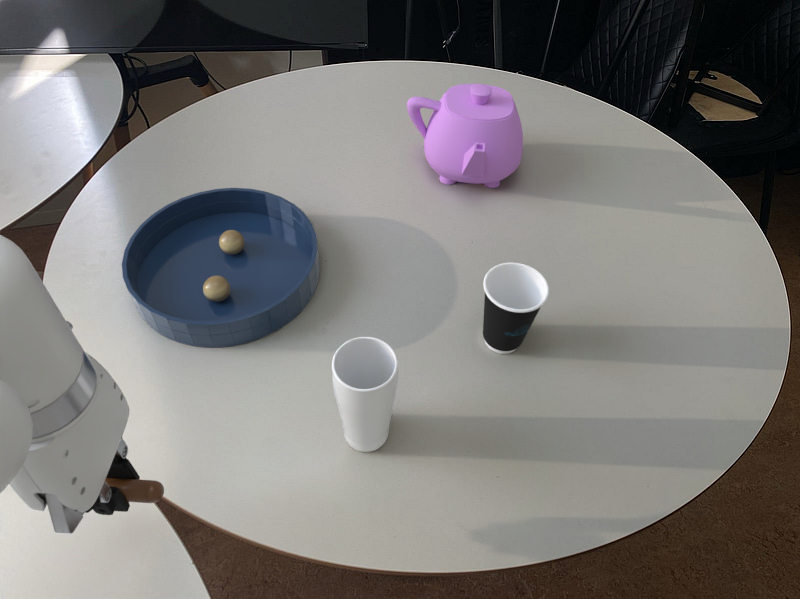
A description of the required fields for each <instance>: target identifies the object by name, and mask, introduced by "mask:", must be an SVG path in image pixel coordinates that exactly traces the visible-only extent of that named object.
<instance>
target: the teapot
mask: <svg viewBox="0 0 800 599" xmlns="http://www.w3.org/2000/svg"><path fill="white" fill-rule="evenodd" d="M421 109H429V110H433V111H432V113H431V115H430V117H429V120H428V123H427V126H426V124H425V121H424V120H423V117H422V113H421ZM406 110H407V113H408V116H409V118H410V120H411V122H412V123H413V125H414V126H415V128H416V129H417V131H418V132H419V134H420V135H421V137H422V138H423V151H424V155H425V159H426V161H427V163H428V165H429V166H430V167H431V169H432V170H433V171H434V172H435V173H436V174H438V175H439V177H438V180H439V181H440V183H442V184H444V185H454V184H456V183H457V182H459V183H465V184H474V185H475V184H482V185H483V186H485V187H486V188H491V189H494V188H495V189H496V188H498V187H499V186H500V185H501V181H502V180H504V179H506V178H508V177H509V176H510V175H512V174H513V173H514V172H515V171H516V170H517V169H518V168H519V166H520V164H521V161H522V155H523V149H524V134H523V126H522V122H521V117H520V114H519V111H518V108H517V105H516V102H515V100H514V98H513V95H512V94H511V93H510V92H509V91H508V90H506V89H504V88H501V87H500V86H495V85H490V84H486V83H485V84H484V83H462V84H455V85H453V86H451V87H449V88H448V89H447V90H446V91H445V92H444V94H442V96H441V98H440V99H439V100H436V99H433V98H430V97H429V98H428V97H424V96H412V97H410V98H409V99H408V100H407V102H406Z"/></svg>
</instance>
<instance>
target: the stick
mask: <svg viewBox="0 0 800 599" xmlns="http://www.w3.org/2000/svg"><path fill="white" fill-rule="evenodd" d="M105 481H106V483H107V484H108V485H109V486H114V487H117V488H118V489H119V490H120V491H121V493H122V494H123V495H124V497H125V498H126V500H127V502H129V503H140V504H141V503H142V504H155V503H157V502H159V501H160V500H161V499H162V498H163V496H164V494H165V487H164V485H163V484H162V483H161V482H160V481H158V480H152V479H151V480H150V479H139V480H138V479H122V478H106V479H105Z"/></svg>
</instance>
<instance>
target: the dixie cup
mask: <svg viewBox="0 0 800 599" xmlns="http://www.w3.org/2000/svg"><path fill="white" fill-rule="evenodd" d="M482 285H483V291H484V302H483V303H484V305H483V322H482V337H483V340H484V343H485V345H486V346H487V348H488V349H489V350H491V351H492V352H493V353H496V354H500V355H508V354H509V355H510V354H511V353H514V352H515V351H516V350H517V349H518V348H520V346H521V345H522V344H523V342H524V340H525V338H526V336H527V335H528V332H529V331H530V329H531V326H532V325H533V323H534V321H535V320H536V318H537V316H538V314H539V311H540V310H541V308H542V307H543V306H544V304H545V303H546V302H547V301H548V299H549V297H550V296H549V295H550V286H549V282H548V281H547V280H546V277H545V276H544V275H543V274H542V273H541V272H540V271H539V270H538V269H536V268H534V267H532V266H530V265H528V264H526V263H525V264H524V263H520V262H512V261H511V262H503V263H499V264H497V265H495V266H493V267H491V268H490V269H489V270H488V271H487V272H486V274H485V275H484V277H483V284H482Z"/></svg>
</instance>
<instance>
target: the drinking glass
mask: <svg viewBox="0 0 800 599" xmlns="http://www.w3.org/2000/svg"><path fill="white" fill-rule="evenodd" d="M331 381H332V388H333V394H334V398H335V402H336V406H337V409H338V412H339V417H340V421H341V425H342V430H343V431H342V432H343V437H344V440H345V442H346V443H347V444H348V446H349V447H351V448H352V449H353V450H355V451H357V452H360V453H361V452H362V453H370V452H371V453H372V452H374V451H377V450H379V449H381V447H382V446H384V444H385V443H386V441H387V440H388V438H389V434H390V424H391V419H392V415H393V411H394V406H395V401H396V398H397V397H396V396H397V391H398V384H399V360H398V356H397V353H396V352H395V350H394V349H393V347H392V346H391V345H390V344H388V343H387V342H386V341H384V340H383V339H381V338H377V337H375V336H374V337H373V336H357V337H353V338H350V339H348V340H346V341H345V342H343V343H342V344H340V346H338V348H337V349H336V350H335V352H334V354H333V357H332V359H331Z"/></svg>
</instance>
